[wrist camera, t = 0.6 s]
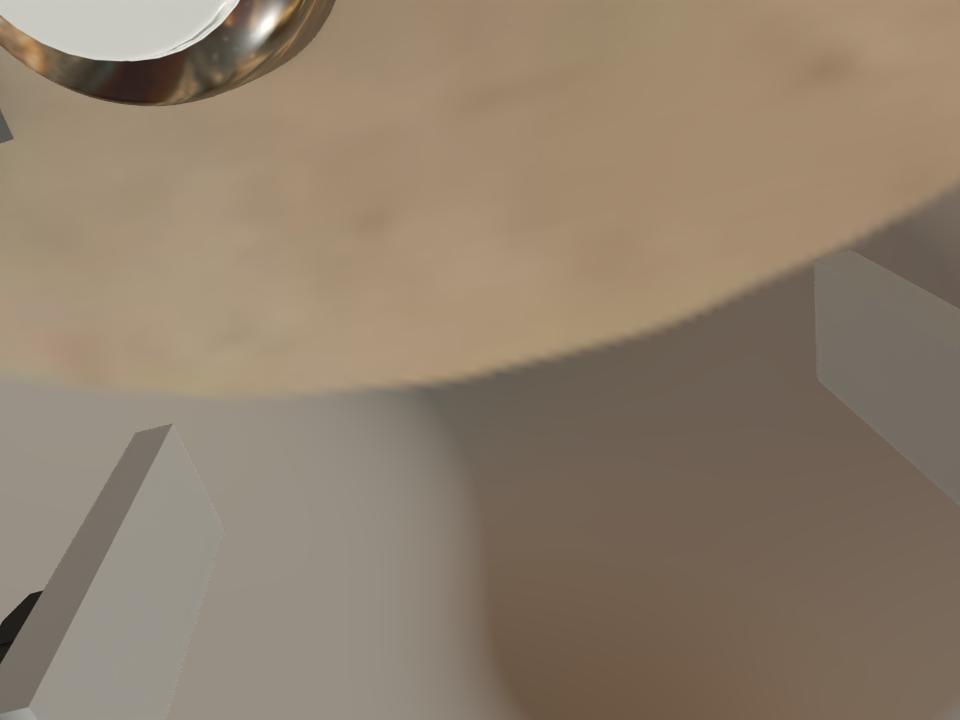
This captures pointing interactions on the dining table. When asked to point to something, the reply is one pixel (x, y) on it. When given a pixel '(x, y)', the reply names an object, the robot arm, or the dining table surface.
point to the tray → (4, 130)
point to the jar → (157, 44)
